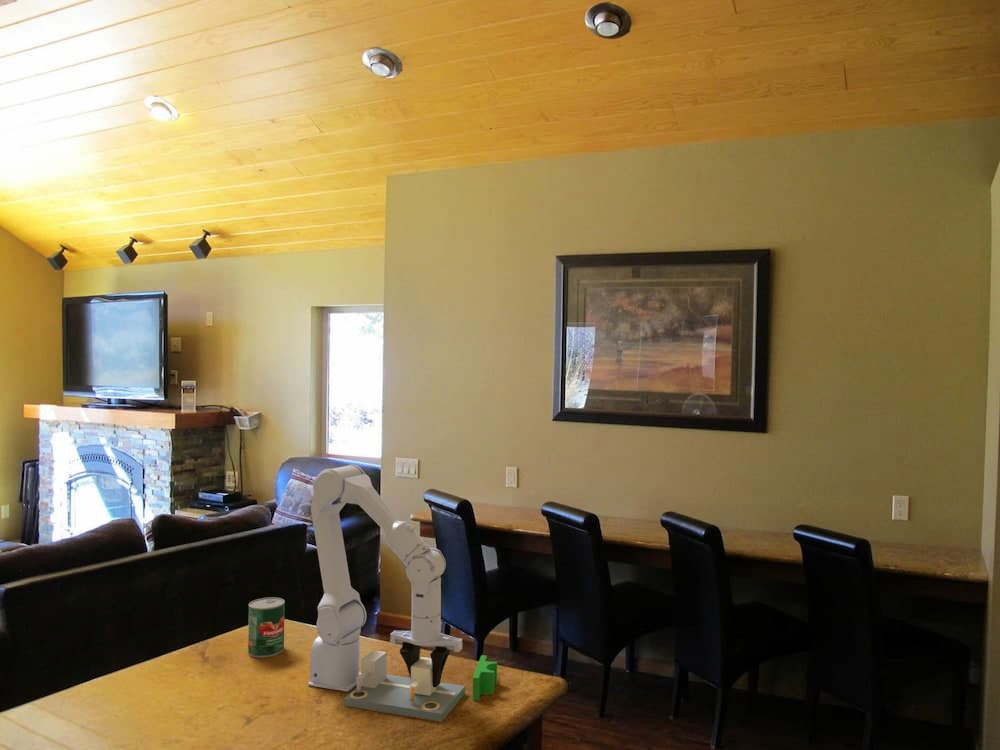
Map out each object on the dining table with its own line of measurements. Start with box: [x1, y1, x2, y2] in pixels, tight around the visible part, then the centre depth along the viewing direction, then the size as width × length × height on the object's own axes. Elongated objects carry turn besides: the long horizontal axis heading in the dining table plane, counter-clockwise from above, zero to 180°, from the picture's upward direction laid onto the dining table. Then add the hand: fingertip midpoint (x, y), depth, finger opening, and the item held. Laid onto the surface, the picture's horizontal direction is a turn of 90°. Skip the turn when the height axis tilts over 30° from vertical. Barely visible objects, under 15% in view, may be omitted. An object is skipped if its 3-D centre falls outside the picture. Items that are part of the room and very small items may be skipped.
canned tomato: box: [247, 596, 286, 659], centre depth 156 cm, size 8×8×11 cm
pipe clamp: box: [472, 654, 498, 701], centre depth 137 cm, size 11×4×5 cm, turn 173°
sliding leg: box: [410, 656, 440, 702], centre depth 131 cm, size 4×9×5 cm, turn 162°
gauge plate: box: [343, 649, 466, 723], centre depth 132 cm, size 20×12×7 cm, turn 72°
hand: (425, 683), depth 133 cm, fingers closed on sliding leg, 4 cm apart
